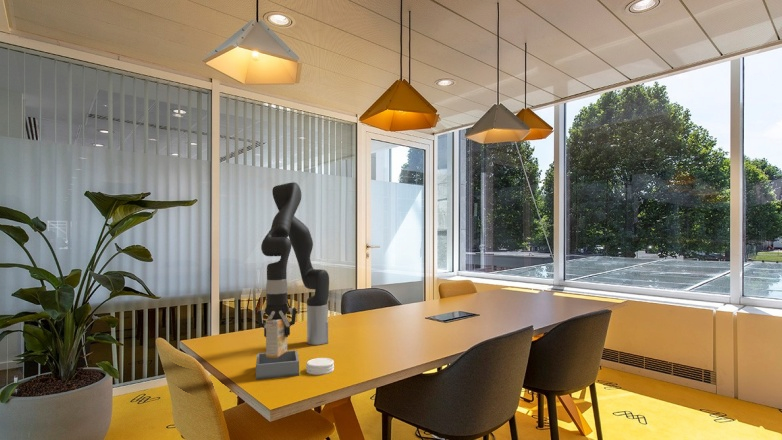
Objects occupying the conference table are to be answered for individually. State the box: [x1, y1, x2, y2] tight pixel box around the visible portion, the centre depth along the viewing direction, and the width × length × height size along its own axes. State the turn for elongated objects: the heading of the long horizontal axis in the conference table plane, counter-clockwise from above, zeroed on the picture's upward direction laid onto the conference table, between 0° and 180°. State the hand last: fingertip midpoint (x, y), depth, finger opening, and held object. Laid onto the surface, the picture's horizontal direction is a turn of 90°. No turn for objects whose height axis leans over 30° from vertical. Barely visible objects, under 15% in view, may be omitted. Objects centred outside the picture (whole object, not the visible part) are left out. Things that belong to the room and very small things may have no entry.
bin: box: [255, 349, 300, 381], centre depth 158 cm, size 15×15×5 cm
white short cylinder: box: [305, 357, 335, 376], centre depth 158 cm, size 10×10×4 cm
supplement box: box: [265, 316, 288, 358], centre depth 159 cm, size 8×5×13 cm, turn 169°
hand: (277, 337), depth 159 cm, fingers closed on supplement box, 6 cm apart
